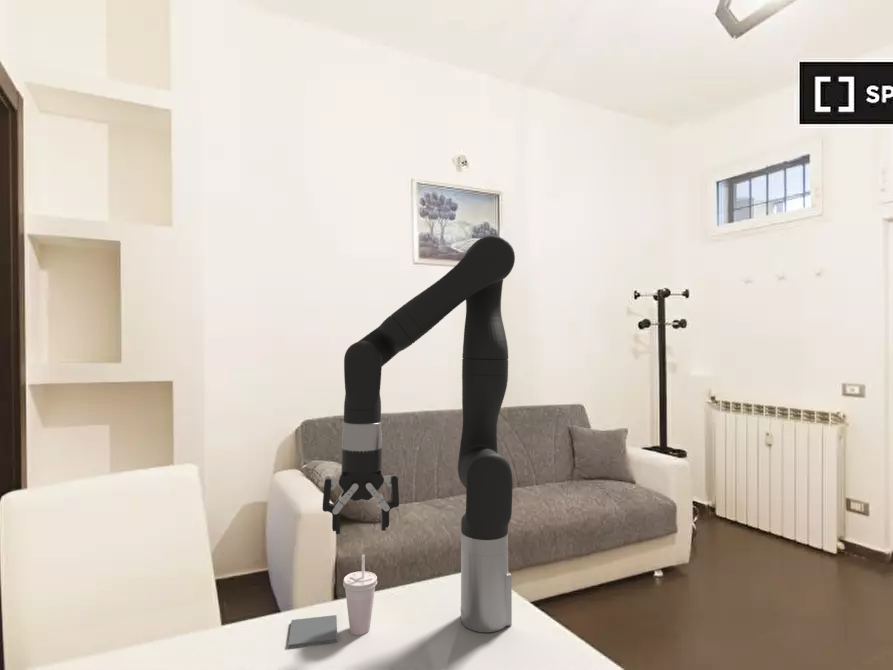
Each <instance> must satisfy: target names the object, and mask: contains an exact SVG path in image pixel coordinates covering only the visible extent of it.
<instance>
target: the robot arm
mask: <svg viewBox="0 0 893 670" xmlns="http://www.w3.org/2000/svg"><path fill="white" fill-rule="evenodd" d="M515 259H516V255H515V251H514V248H513V246H512V244H511V243H510V242H509V241H508V240H507V239H505V238H503V237H501V236H498V235H488V236H484V237H483V236H482V237H481V238H479V239H478V240H476V241H475V242H474V243H472V245H471V246H470V247H469V248H468V249H467V250H466V252H465V253H464V256H463V258H461V260H460V261H459V262H458V263H457V264H456V265H455V266H453V268H451V270H449V271H448V272H447V273H446V274H444V276H442V277H441V278H440V279H438V280H437V281H435V282H434V283H432V284H431V285H430V286H428V287H427V288H426V289H424V290H423V291H421V293H418V294H417V295H415V296H414V297H413V298H411V299H410V300H408V301H407V302H405V304H403V305H402V306H401V307H400V308H399V307H398V309H397V310H395V311H394V312H392V313H391V315H389V316H388V317H386V319H385V320H383V322H382V323H381V324H380V325H379V326H378V327H376V328H375V329H373V330H372V331H371V332H369V333H367V334H366V335H365V336H364V337H362V338H361V339H360V340H358V341H356V342H354V343H352V344H351V345H350V346H349V347H348V348H347V349H346V351H345V352H344V357H343V372H344V373H343V375H344V389H345V392H344V393H345V394H344V401H343V402H344V403H343V427H342V433H341V472H340V473H341V474H340V476H339V477H331V476H329V475H327V476H325V477H324V483H323V485H324V486H323V497H322V511H323V512H324V513H325V512H327V513H331V515H332V519H331V521H332V523H331V524H332V525H331V528H332V532H335V534H336V535H340V534H341V510H342V509H343V508H344V506H345V505H347V503H348V502H349V500H352V501H353V502H354V501H355V502H356V501H360V500H364V501H371V499H372V498H374V500H375V501H376V503H377V504H379V506H380V507H381V508H380V529H381V531H382V532H385V531H386V528H389V526H390V511H391V510H392V509H394V508H398V507H399V506H400V495H399V494H400V493H399V479H398V478H399V477H398V476H397V474H396V473H394V472H393V473H391V474H389V475H388V474H387V475H383V474H382V473H383V472H382V459H383V458H382V453H383V452H382V450H383V449H382V448H383V447H382V446H383V432H382V422H381V421H382V402H381V381H382V371H383V370H382V368H383V367H384V365H386V364H387V363H388V362H389V361H390V360H392V359H393V358H394V357H396V355H397V354H399V353H401V352H402V351H404V350H405V349H407V348H409V347H410V346H412V345H413V344H414V343H415V342H417V341H418V340H420V339H421V338H422V337H423V336H425V334H427V333H429V331H431V330H432V329H433V328H434V327H435V326H436V325H438V324H439V323H440V322H441V321H442V320H444V318H445V317H447V316H448V315H449V314H450V313H451V312H453V310H456V308H457V307H458V306H459V305H461V304H462V303H463V302H465V321H464V329H463V343H462V359H461V363H462V365H461V380H462V381H461V386H462V389H461V392H462V393H461V396H462V397H461V399H462V400H461V402H462V403H461V406H462V408H461V409H462V428H461V437H460V438H461V439H460V444H459V445H460V446H459V453H458V461H457V473H458V478H459V480H460V482H461V484H462V486H463V487H464V488H465V490H466V491H465V492H466V493H465V494H466V495H465V496H466V497H465V514H463V515H462V517H461V522H460V540H461V541H460V546H461V548H460V549H461V550H460V560H461V561H460V621H461V623H462V624H463V626H464V627H465V628H468V629H469V630H471V631H474V632H478V633H493V632H498V631H501V630H503V629H505V628H506V627H507V626H512V623H513V622H512V621H513V619H512V616H513V615H512V613H513V612H512V609H513V608H512V607H513V606H512V605H513V603H512V602H513V601H512V600H513V598H512V596H513V595H512V593H513V592H512V589H513V587H512V586H513V585H512V584H513V580H512V579H513V577H512V574H511V572H509V571H510V570H509V524H510V521H511V520H512V511H513V509H512V508H513V488H514V487H513V473H512V468H511V465H510V464H509V462H508V461H507V459H506V458H505V457H503V455H500V454H499V453H498V452H499V451H498V437H497V435H498V432H497V430H498V429H497V428H498V418H499V415H500V411H501V408H502V406H503V402H504V398H505V395H506V391H507V389H508V388H507V387H508V381H509V347H508V341H507V336H506V331H505V326H504V322H503V318H502V292H503V284H504V280H505V279H506V278H507V277H508V276H509V275H510V273H511V272H512V270H513V269H514V266H515ZM384 483H386V485H387V487H388V488H390V499H389V500H386V498H385V497H384V496H383V494H382V493H381V492H380V491H379V490H380V489H381V487H382V486H383V484H384ZM337 485H339V486H340V488H341V490H342V492H341V493H340V495H339V497H338V498H337V499H336V501H335V502H334V503H331V502H330V501H331V492H332V491H333V490H335V488H336V487H337Z"/></svg>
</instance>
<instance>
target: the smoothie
mask: <svg viewBox="0 0 893 670" xmlns="http://www.w3.org/2000/svg"><path fill="white" fill-rule="evenodd" d="M365 557H366V555H365V554H361V570H360V571H359V570H358V571H355V572H350V573H348V574H347V575H346V576H344V578H343V584H342V586H343V588H344V589H345V591H344V592H345V599H346V606H347V607H346V608H347V609H346V610H347V616H348V617H347V618H348V625H349V632H350V633H351V634H352V635H354V636H363V635H366V634H368V633H369V632H370V629H371V622H372V616H373V615H372V614H373V607H374V600H375V599H374V598H375V590H376V585H377V584H378V576H377V575H376V573H374V572H371V571H366V569H365V566H366V565H365V564H366V563H365V561H366V560H365V559H366V558H365Z"/></svg>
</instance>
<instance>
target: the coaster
mask: <svg viewBox="0 0 893 670" xmlns="http://www.w3.org/2000/svg"><path fill="white" fill-rule="evenodd" d="M337 622H338V619H337V614H333V615H324V616H315V617H308V618H307V617H306V618H297V619H291V621H290V630H289V637H288V644H287V645H288V646H287V647H288V649H291V648H290V647H294V648H301V647H300V646H302V647H309V645H310V646H317V645H326V644H332V643H334V644H335V643H338V626H337V625H338V623H337Z"/></svg>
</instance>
